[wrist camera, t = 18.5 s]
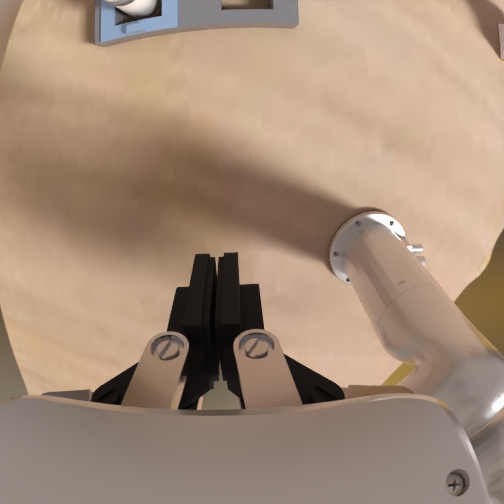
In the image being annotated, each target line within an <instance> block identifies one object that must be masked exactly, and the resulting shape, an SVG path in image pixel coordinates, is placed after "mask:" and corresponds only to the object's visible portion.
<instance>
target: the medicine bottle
mask: <svg viewBox="0 0 504 504" xmlns="http://www.w3.org/2000/svg"><path fill="white" fill-rule="evenodd" d="M498 29H499V40H500V56H501V60H502V61H504V24H498Z"/></svg>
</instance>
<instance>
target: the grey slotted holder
mask: <svg viewBox="0 0 504 504" xmlns="http://www.w3.org/2000/svg"><path fill="white" fill-rule="evenodd" d="M298 24H299V17H298V0H270V9H233V10H222V0H162V16H158V17H152V18H147V19H142V20H137V21H133V22H128V23H124V11H122V10H120V9H119V8H117V7H115V6H113V5H111V4H109V3H107V2H106V1H104V0H95V45H98V46H102V47H107V46H111V45H115V44H119V43H123V42H128V41H132V40H137V39H142V38H147V37H153V36H158V35H165V34H171V33H179V32H187V31H196V30H207V29H221V28H246V27H268V28H293V29H294V28H295V27H296V26H297V25H298Z"/></svg>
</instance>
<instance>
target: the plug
mask: <svg viewBox="0 0 504 504" xmlns="http://www.w3.org/2000/svg"><path fill="white" fill-rule="evenodd" d="M104 1H106V2H107V3H109V4H111V5H113V6H115V7H117V8H119V9H120V10H122V11H124V12H125V13H127V14H129V15H130V16H132V17H134V18H135V19H137V20H142V19H147V18H152V17H154V16H156V15H157V14H158V12H159V11H160V9H161V7H162V1H161V0H104Z"/></svg>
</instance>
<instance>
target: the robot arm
mask: <svg viewBox="0 0 504 504" xmlns="http://www.w3.org/2000/svg"><path fill="white" fill-rule="evenodd" d="M422 250H423V247H422V245H421V244H414V245H410V244H409V243H408V242H407V241H406V240H405V234H404V231H403V228H402V227H401V225H400V223H399V222H398V221H397V220H396V219H395V218H393V217H392V216H391V215H389V214H387V213H384V212H380V211H369V212H364V213H361V214H359V215H356V216H354V217H353V218H351V219H349V220H348V221H347V222H346V223H345V224H343V225H342V226H341V228H340V229H339V230H338V231H337V233H336V234H335V236H334V238H333V240H332V243H331V245H330V250H329V261H330V265H331V267H332V269H333V272H334V273H335V274H336V276H337V277H338V278H339V279H340V280H341V281H343V282H345V283H347V284H350V285H353V287H354V289H355V291H356V293H357V295H358V297H359V299H360V301H361V303H362V305H363V307H364V309H365V311H366V313H367V315H368V317H369V319H370V321H371V323H372V326H373V328H374V330H375V332H376V334H377V336H378V338H379V340H380V342H381V344H382V346H383V348H384V349H385V351H386V352H387V353H388V354H389V355H390V356H392V357H393V358H395V359H397V360H399V361H401V362H404V363H408V364H412V365H416V367H415V369H414V370H413V371H412V372H411V373H410V374H409V375H407V376H406V377H405V378H404V379H403V380H402V381H401V382H399V383H398V384H397V385H395V386H366V385H349V386H348V388H340V386H338V385H337V384H336V383H334V382H332V381H331V380H329V379H327V378H325V377H323V376H322V375H320V374H318V373H316V372H315V371H313V370H311V369H309V368H307V367H306V366H304V365H302V364H301V363H299V362H297V361H295V360H294V359H292V358H290V357H289V356H287V355H285V354H283V351H282V348H281V346H280V343H279V341H278V339H277V337H276V336H275V335H273V334H272V333H271V332H268V331H266V330H264V323H263V315H262V307H261V299H260V290H259V284H244V285H240V284H239V266H238V252H236V253H224V257H219V262H218V276H217V272H216V262H215V257H210V254H196V255H195V259H194V264H193V269H192V275H191V280H190V285H189V287H177V289H176V293H175V297H174V301H173V306H172V310H171V314H170V319H169V324H168V328H167V332H163V333H160V334H157V335H155V336H154V337H153V338H151V339H150V340H149V342H148V343H147V345H146V347H145V350H144V352H143V354H142V356H141V359H140V361H139V362H138V363H136V364H135V365H133V366H132V367H130V368H128V369H127V370H125V371H124V372H122V373H121V374H119V375H117V376H116V377H114V378H113V379H111V380H110V381H108V382H106V383H105V384H103V385H102V386H100V387H99V388H98V389H96V390H95V392H91V390H90V389H88V390H75V391H60V392H47V393H43V394H42V395H25V396H19V397H14V398H10V399H7V400H5V401H3V402H1V403H0V504H491V502H492V503H493V504H504V409H502V408H503V406H504V358H503V356H502V355H501V354H500V353H499V351H498V350H497V349H496V348H495V347H494V346H493V345H492V344H491V343H490V342H489V341H488V340H487V339H486V338H485V337H484V336H483V335H482V334H481V333H480V332H479V331H478V330H477V329H476V328H475V327H474V326H473V325H472V323H471V322H470V321H469V320H468V319H467V318H466V317H465V316H464V315H463V313H462V312H461V311H460V310H459V308H458V307H457V306H456V305H455V304H454V302H453V301H452V300H451V299H450V297H449V296H448V295H447V294H446V292H445V291H444V290H443V289H442V287H441V286H440V285H439V284H438V282H437V281H436V280H435V279H434V278H433V276H432V275H431V274H430V273H429V271H428V270H427V269H426V268H425V262H426V261H425V258H424V256H415V255H414V254H413V253H421V252H422ZM220 363H221V370H222V376H223V381H227V385H228V389H229V390H230V391H231V392H232V393H234V394H235V395H236V396H238V397H239V403H240V407H241V409H240V410H201V407H202V403H203V395H204V394H205V393H206V392H208V391H209V390H210V389H214V381H219V364H220Z"/></svg>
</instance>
